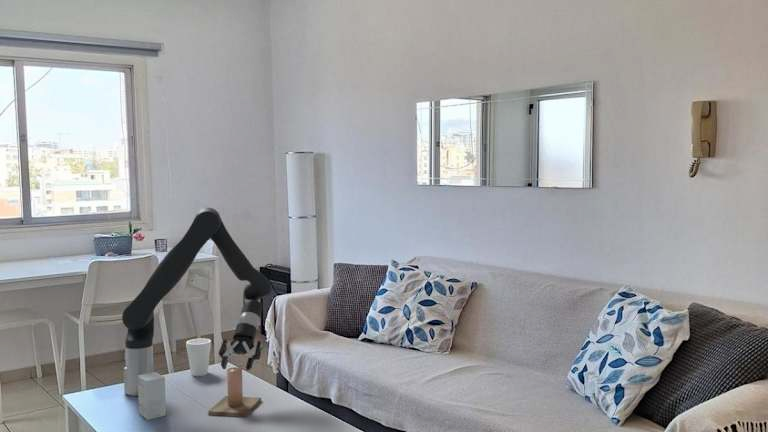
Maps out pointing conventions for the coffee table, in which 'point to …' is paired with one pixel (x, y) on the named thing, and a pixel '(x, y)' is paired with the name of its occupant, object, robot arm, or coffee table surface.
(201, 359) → the foam cup
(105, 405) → the coffee table surface
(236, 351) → the robot arm
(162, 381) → the small box
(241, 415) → the board
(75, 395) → the coffee table surface
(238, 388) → the canister
